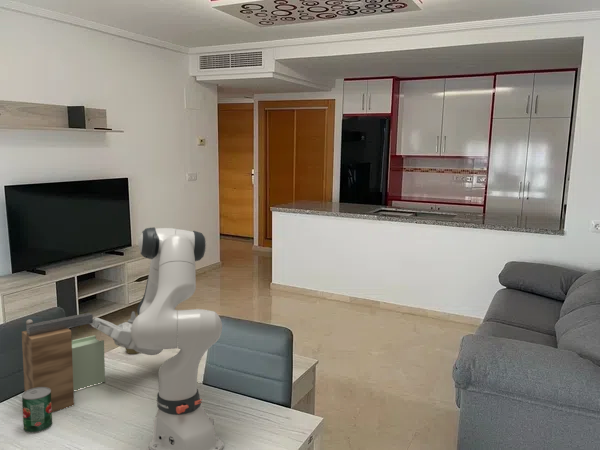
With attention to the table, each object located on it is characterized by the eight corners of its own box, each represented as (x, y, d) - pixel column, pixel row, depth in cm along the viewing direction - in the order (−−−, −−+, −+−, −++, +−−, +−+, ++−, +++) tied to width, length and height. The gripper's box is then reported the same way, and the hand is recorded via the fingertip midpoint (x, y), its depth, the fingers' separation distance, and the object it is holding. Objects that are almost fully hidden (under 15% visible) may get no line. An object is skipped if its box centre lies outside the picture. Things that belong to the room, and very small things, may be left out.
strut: (92, 322, 168) (92, 314, 167) (29, 336, 153) (29, 327, 153) (89, 320, 170) (89, 312, 169) (26, 333, 156) (26, 324, 155)
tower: (74, 405, 162) (70, 319, 159) (35, 417, 154) (31, 327, 150) (63, 395, 169) (59, 312, 166) (25, 406, 161) (21, 319, 157)
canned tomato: (57, 424, 150) (56, 391, 149) (32, 436, 143) (30, 401, 142) (43, 417, 154) (41, 384, 153) (18, 428, 148) (16, 394, 146)
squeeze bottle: (140, 355, 206) (139, 314, 204) (121, 355, 206) (120, 314, 204) (146, 348, 214) (145, 309, 212) (128, 348, 214) (127, 308, 212)
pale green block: (105, 382, 180) (103, 340, 178) (63, 395, 169) (61, 351, 167) (96, 375, 185) (94, 335, 184) (54, 387, 175) (53, 344, 173)
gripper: (116, 320, 186) (84, 308, 177) (142, 333, 172) (109, 321, 163) (109, 335, 185) (76, 325, 176) (134, 350, 171) (100, 339, 161)
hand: (92, 323), depth 169 cm, fingers open, 8 cm apart
